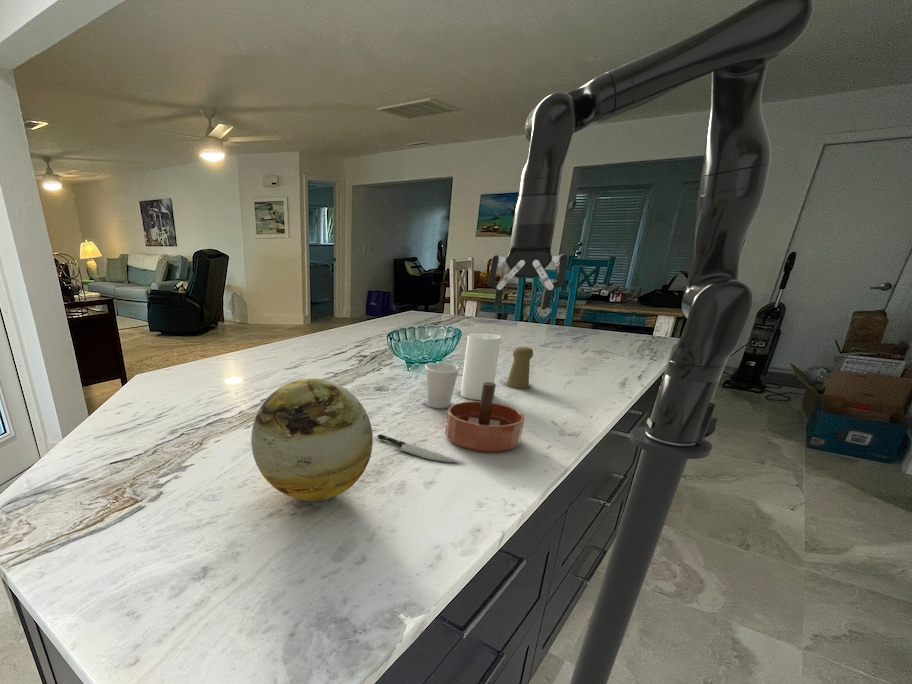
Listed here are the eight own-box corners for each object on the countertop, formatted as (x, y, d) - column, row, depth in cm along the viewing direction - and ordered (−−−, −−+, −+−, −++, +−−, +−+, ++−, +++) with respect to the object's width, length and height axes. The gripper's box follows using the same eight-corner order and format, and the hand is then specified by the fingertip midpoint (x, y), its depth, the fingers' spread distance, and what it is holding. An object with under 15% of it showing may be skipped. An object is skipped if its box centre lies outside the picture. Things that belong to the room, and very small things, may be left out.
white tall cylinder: (473, 388, 133) (481, 331, 126) (498, 396, 127) (508, 336, 120) (454, 394, 129) (461, 335, 122) (478, 401, 123) (487, 340, 116)
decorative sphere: (271, 463, 91) (265, 363, 83) (373, 470, 88) (378, 366, 80) (240, 519, 74) (229, 398, 65) (366, 530, 70) (371, 404, 62)
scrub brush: (498, 434, 101) (506, 382, 96) (496, 442, 97) (505, 388, 92) (467, 430, 103) (474, 379, 98) (464, 437, 100) (472, 385, 95)
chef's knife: (452, 469, 88) (460, 463, 90) (453, 464, 88) (460, 458, 90) (370, 442, 100) (378, 437, 102) (370, 437, 100) (379, 432, 102)
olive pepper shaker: (522, 389, 132) (529, 350, 127) (502, 385, 136) (508, 347, 131) (532, 385, 135) (539, 347, 131) (512, 381, 139) (518, 344, 135)
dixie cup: (432, 411, 116) (436, 372, 112) (415, 401, 124) (419, 364, 119) (461, 407, 119) (466, 369, 115) (443, 398, 126) (447, 361, 122)
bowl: (517, 430, 105) (522, 405, 102) (521, 458, 92) (526, 430, 89) (447, 422, 110) (450, 398, 107) (441, 448, 97) (444, 421, 94)
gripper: (495, 223, 90) (484, 310, 96) (578, 220, 85) (561, 312, 92) (494, 224, 96) (484, 305, 103) (571, 221, 92) (555, 306, 99)
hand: (520, 308), depth 97 cm, fingers open, 8 cm apart
